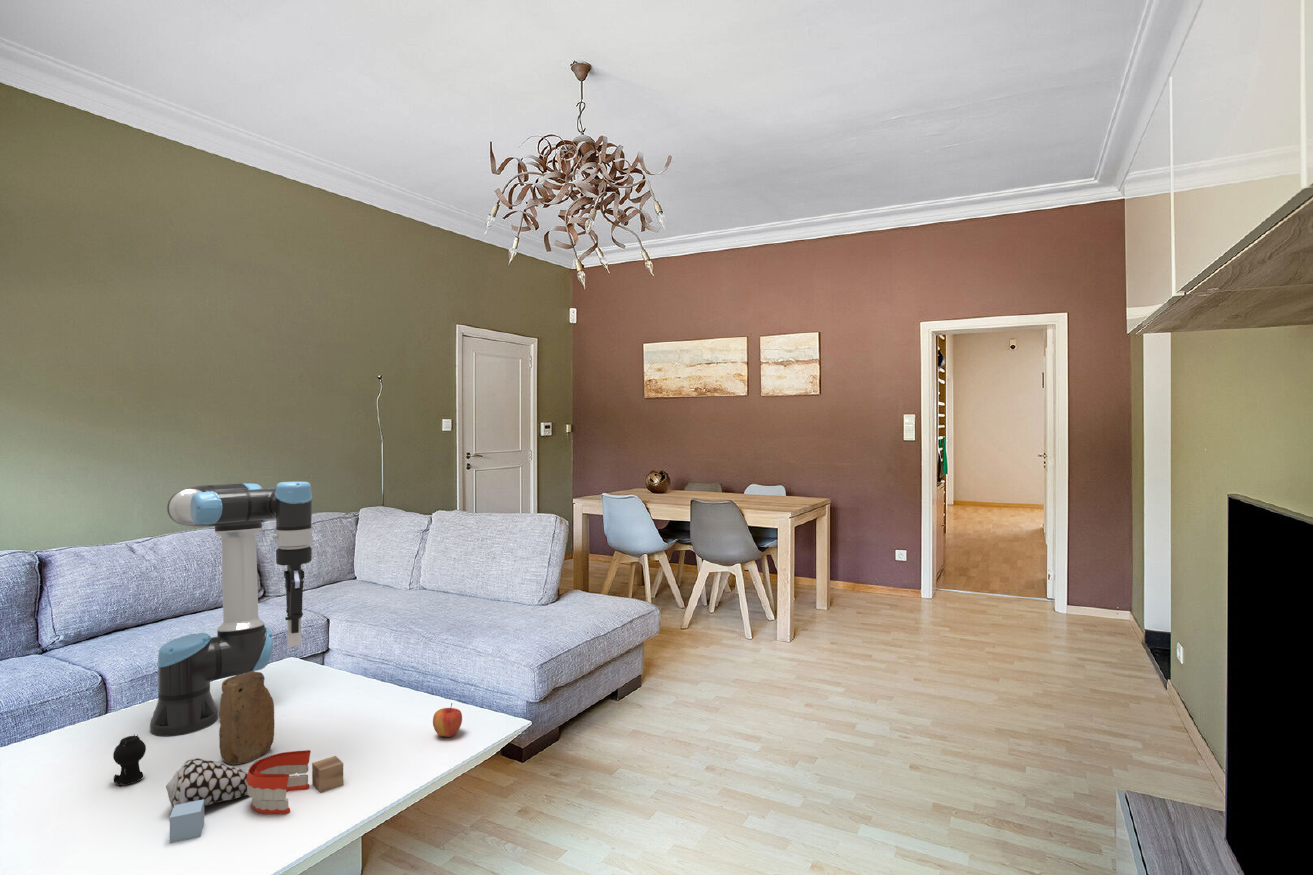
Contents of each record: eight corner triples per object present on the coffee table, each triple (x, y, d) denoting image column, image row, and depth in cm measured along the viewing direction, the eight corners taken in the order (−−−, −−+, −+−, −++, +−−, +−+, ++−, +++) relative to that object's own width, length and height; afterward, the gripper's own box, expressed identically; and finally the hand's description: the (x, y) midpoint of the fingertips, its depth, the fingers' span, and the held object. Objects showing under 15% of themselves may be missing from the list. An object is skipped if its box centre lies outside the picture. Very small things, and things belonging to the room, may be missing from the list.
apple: (426, 739, 177) (426, 708, 177) (445, 728, 184) (445, 698, 184) (449, 744, 174) (449, 712, 174) (468, 732, 181) (468, 702, 181)
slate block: (174, 830, 137) (174, 805, 137) (204, 823, 139) (204, 799, 139) (169, 843, 132) (169, 817, 132) (200, 836, 134) (200, 811, 134)
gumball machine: (119, 776, 158) (119, 733, 158) (150, 771, 160) (150, 729, 160) (108, 790, 152) (108, 745, 152) (141, 785, 154) (140, 740, 154)
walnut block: (312, 784, 154) (312, 762, 154) (335, 777, 158) (335, 755, 158) (319, 793, 151) (319, 770, 151) (343, 785, 154) (343, 762, 154)
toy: (263, 787, 153) (263, 751, 153) (311, 785, 154) (311, 749, 154) (234, 818, 141) (234, 779, 141) (287, 815, 142) (287, 777, 142)
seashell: (197, 826, 138) (197, 776, 138) (154, 813, 143) (154, 765, 143) (269, 787, 153) (269, 742, 153) (229, 777, 158) (228, 733, 158)
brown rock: (231, 769, 161) (231, 684, 161) (216, 761, 165) (216, 678, 165) (278, 751, 170) (278, 671, 170) (262, 744, 174) (262, 665, 174)
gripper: (273, 544, 167) (273, 641, 167) (278, 551, 156) (279, 655, 156) (307, 541, 171) (308, 636, 171) (315, 548, 160) (315, 649, 160)
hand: (294, 645), depth 164 cm, fingers closed
